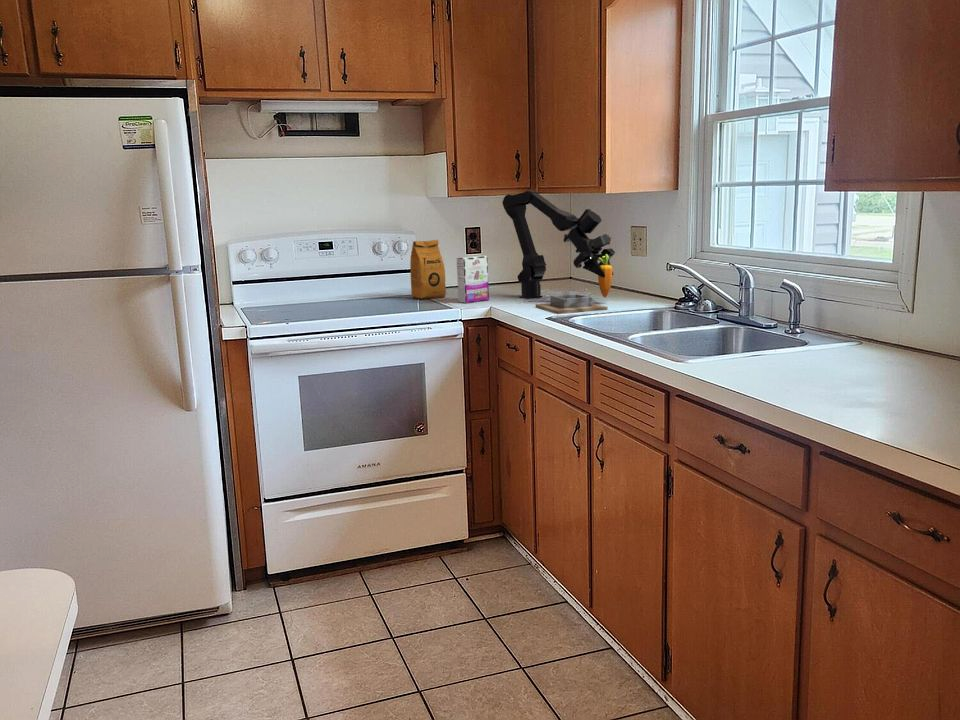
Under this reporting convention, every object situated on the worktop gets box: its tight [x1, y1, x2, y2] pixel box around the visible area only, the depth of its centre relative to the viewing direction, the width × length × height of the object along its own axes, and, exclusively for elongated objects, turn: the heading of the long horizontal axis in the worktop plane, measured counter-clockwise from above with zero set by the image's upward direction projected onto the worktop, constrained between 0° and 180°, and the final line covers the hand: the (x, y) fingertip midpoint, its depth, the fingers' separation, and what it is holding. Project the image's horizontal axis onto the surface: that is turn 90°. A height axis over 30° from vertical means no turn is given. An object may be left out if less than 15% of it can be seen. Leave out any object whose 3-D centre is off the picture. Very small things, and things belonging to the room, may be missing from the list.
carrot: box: [597, 254, 613, 298], centre depth 290 cm, size 5×5×15 cm
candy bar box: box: [455, 255, 490, 304], centre depth 305 cm, size 11×5×16 cm, turn 130°
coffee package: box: [409, 239, 447, 300], centre depth 318 cm, size 10×12×22 cm
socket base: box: [535, 293, 608, 315], centre depth 282 cm, size 18×18×4 cm
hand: (608, 275), depth 289 cm, fingers closed on carrot, 5 cm apart
